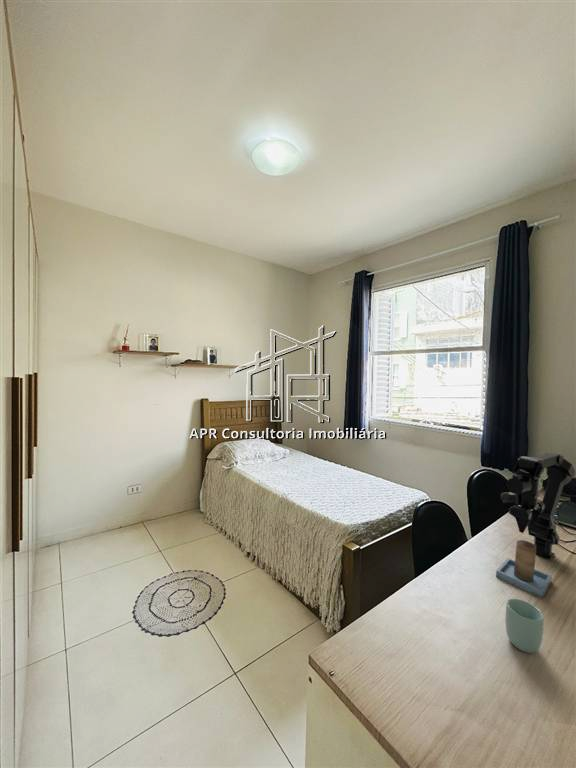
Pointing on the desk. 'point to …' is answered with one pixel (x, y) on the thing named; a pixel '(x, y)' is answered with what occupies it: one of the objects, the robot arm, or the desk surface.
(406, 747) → the desk surface
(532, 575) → the cup
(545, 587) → the desk tray
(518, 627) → the cup
